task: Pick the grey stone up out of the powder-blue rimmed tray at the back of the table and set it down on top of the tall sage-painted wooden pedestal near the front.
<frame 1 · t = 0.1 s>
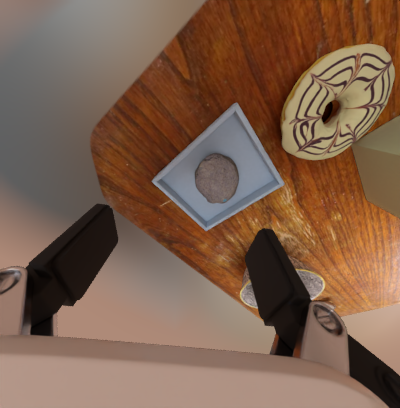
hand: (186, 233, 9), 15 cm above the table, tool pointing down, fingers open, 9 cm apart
butterfly: (318, 306, 48), on the table
bowl: (266, 259, 35), on the table
stone: (216, 177, 23), resting on tray
decorated donut: (316, 112, 19), on the table
tray: (216, 177, 24), on the table
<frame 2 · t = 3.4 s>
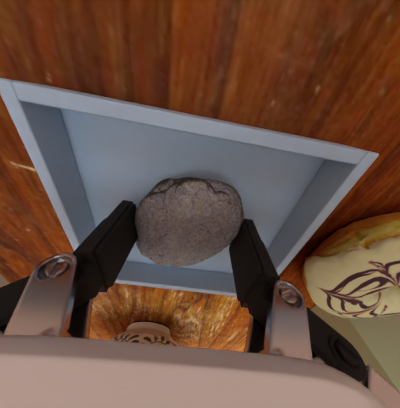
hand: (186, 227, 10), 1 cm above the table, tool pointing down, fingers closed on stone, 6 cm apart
bowl: (149, 327, 24), on the table
stone: (188, 218, 11), resting on tray, touching gripper
decorated donut: (356, 249, 13), on the table
tray: (188, 216, 11), on the table
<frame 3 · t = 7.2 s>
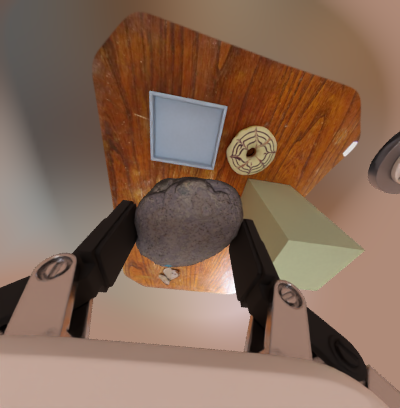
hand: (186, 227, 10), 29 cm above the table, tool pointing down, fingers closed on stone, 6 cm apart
butterfly: (168, 274, 65), on the table
stone: (188, 218, 11), point 28 cm above the table, touching gripper
decorated donut: (248, 150, 35), on the table
stand: (305, 269, 24), on the table
tray: (186, 134, 33), on the table
when the fingers open (23 cm above the table, at t = 11.1 s): stone stays where it is, resting on stand.
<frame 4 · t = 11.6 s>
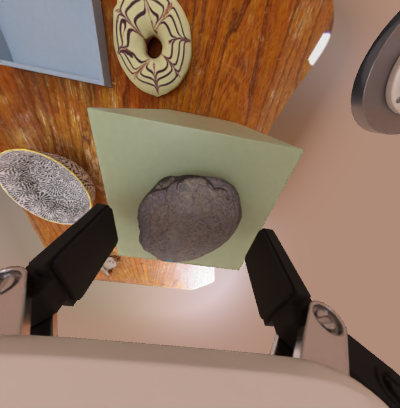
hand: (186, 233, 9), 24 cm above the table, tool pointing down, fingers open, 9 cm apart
butterfly: (109, 263, 52), on the table
bowl: (76, 177, 34), on the table
stone: (188, 214, 11), point 22 cm above the table, touching stand
decorated donut: (157, 52, 22), on the table
stand: (188, 216, 11), on the table
tray: (48, 16, 20), on the table
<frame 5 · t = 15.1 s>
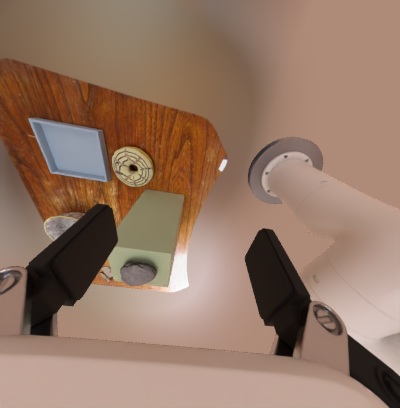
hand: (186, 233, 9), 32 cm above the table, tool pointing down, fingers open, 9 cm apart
butterfly: (109, 273, 70), on the table
bowl: (88, 220, 52), on the table
stone: (140, 268, 30), point 22 cm above the table, touching stand
decorated donut: (136, 165, 40), on the table
stand: (139, 268, 29), on the table
tray: (78, 151, 39), on the table
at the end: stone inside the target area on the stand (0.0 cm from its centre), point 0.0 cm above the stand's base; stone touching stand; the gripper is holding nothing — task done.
